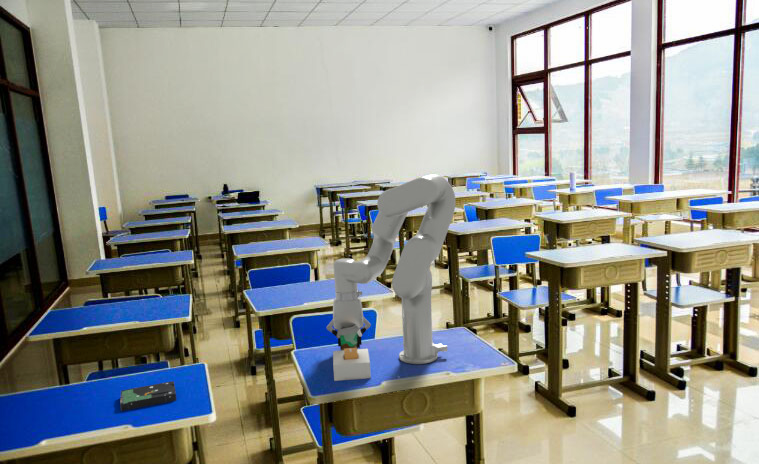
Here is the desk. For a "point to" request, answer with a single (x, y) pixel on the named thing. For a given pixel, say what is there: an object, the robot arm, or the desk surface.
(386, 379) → the desk surface
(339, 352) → the switch box
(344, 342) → the food container
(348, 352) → the orange small block
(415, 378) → the desk surface
